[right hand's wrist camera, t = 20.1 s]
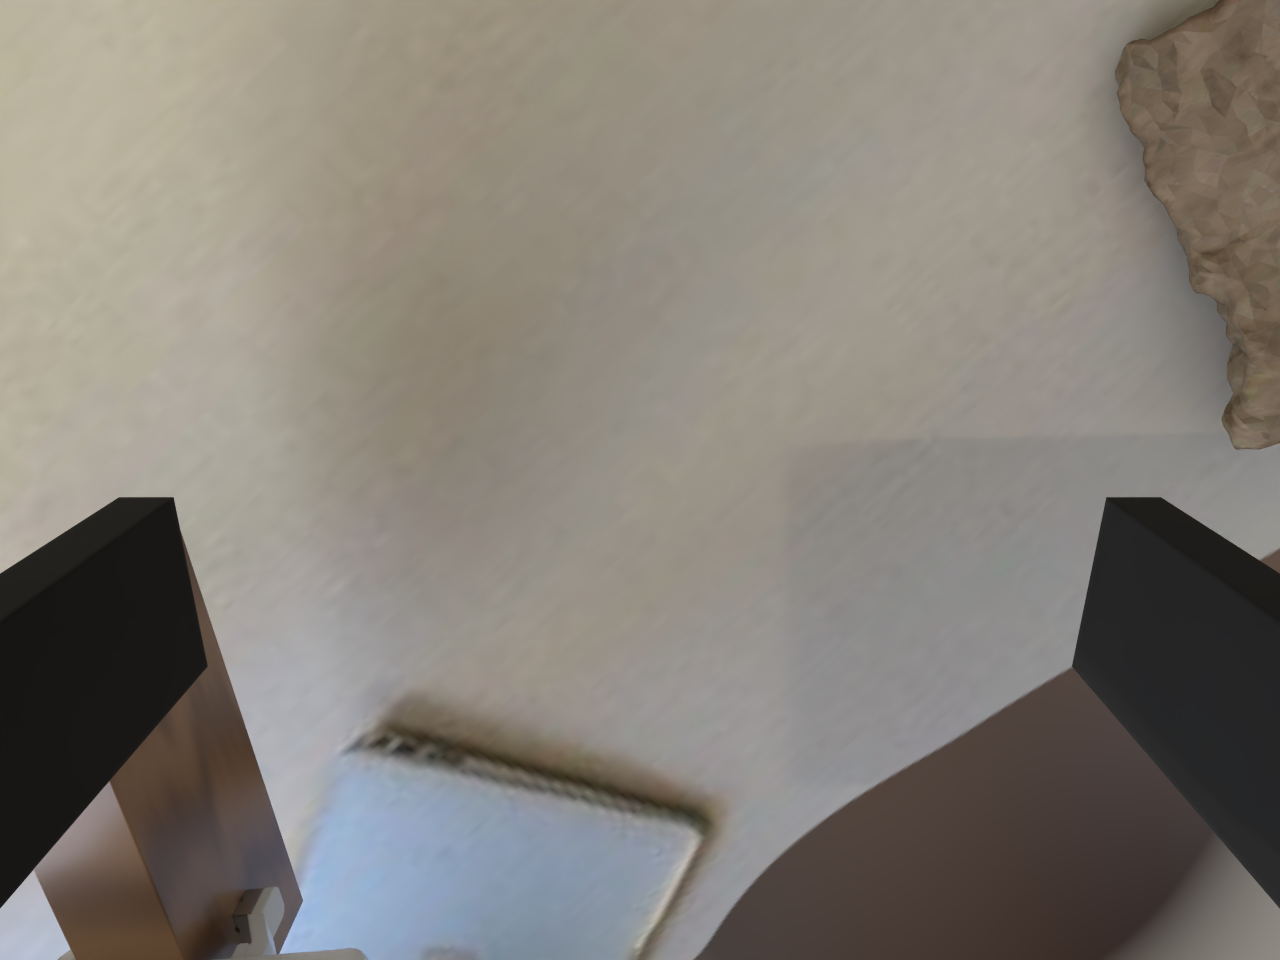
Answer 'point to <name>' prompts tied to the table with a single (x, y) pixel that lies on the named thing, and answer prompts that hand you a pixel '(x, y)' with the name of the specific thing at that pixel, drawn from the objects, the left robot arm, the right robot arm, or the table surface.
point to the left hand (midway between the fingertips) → (208, 902)
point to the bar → (173, 836)
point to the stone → (1221, 181)
